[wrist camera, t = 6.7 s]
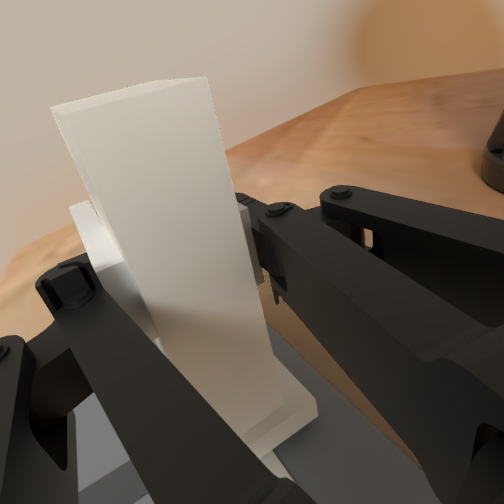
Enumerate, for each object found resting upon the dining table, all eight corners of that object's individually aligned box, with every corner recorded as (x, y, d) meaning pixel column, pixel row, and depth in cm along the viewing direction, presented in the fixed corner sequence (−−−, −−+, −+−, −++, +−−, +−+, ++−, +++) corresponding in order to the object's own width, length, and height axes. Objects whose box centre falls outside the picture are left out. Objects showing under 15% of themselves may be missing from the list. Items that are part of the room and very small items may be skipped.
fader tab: (252, 342, 18) (177, 73, 12) (318, 415, 14) (258, 64, 8) (155, 399, 16) (9, 116, 10) (199, 502, 12) (0, 133, 6)
